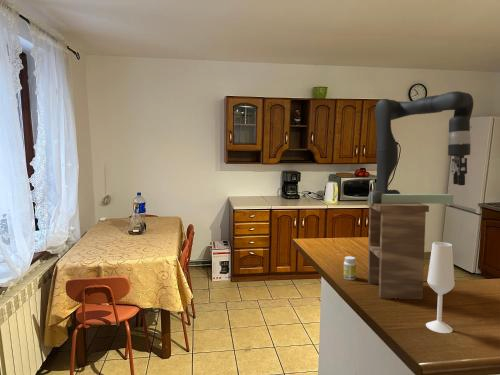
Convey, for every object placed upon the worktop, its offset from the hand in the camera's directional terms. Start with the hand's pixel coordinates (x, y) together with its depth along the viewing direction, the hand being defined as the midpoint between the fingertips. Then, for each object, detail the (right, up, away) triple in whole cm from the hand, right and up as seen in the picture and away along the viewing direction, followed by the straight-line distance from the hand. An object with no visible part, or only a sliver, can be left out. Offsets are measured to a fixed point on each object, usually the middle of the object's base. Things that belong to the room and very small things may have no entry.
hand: (458, 184), depth 135 cm
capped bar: (-25, -7, -13) cm, 29 cm away
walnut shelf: (-30, -39, -10) cm, 50 cm away
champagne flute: (-29, -41, -38) cm, 63 cm away
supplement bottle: (-42, -38, +3) cm, 57 cm away
